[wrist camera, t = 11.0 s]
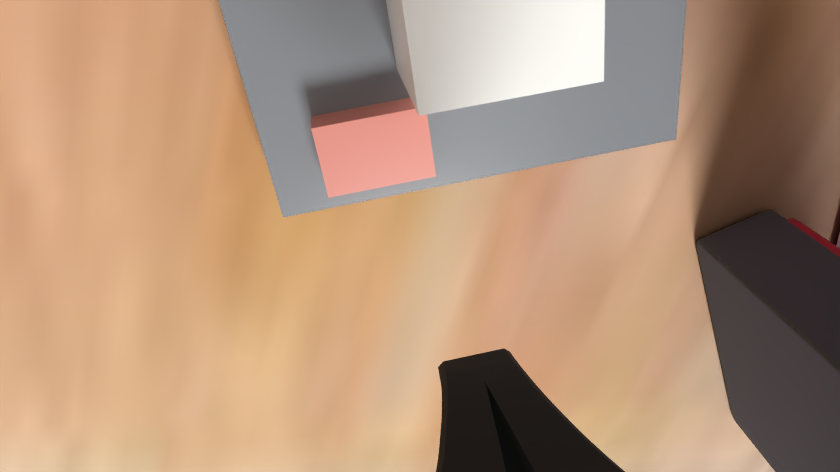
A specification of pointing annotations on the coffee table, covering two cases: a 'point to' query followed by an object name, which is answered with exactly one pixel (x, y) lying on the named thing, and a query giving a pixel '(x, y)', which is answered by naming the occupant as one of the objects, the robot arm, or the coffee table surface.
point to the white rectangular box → (494, 49)
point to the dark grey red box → (778, 336)
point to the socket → (438, 132)
